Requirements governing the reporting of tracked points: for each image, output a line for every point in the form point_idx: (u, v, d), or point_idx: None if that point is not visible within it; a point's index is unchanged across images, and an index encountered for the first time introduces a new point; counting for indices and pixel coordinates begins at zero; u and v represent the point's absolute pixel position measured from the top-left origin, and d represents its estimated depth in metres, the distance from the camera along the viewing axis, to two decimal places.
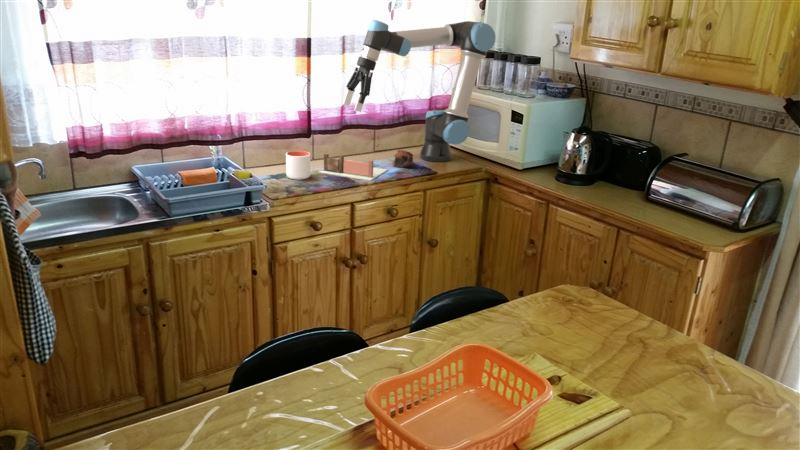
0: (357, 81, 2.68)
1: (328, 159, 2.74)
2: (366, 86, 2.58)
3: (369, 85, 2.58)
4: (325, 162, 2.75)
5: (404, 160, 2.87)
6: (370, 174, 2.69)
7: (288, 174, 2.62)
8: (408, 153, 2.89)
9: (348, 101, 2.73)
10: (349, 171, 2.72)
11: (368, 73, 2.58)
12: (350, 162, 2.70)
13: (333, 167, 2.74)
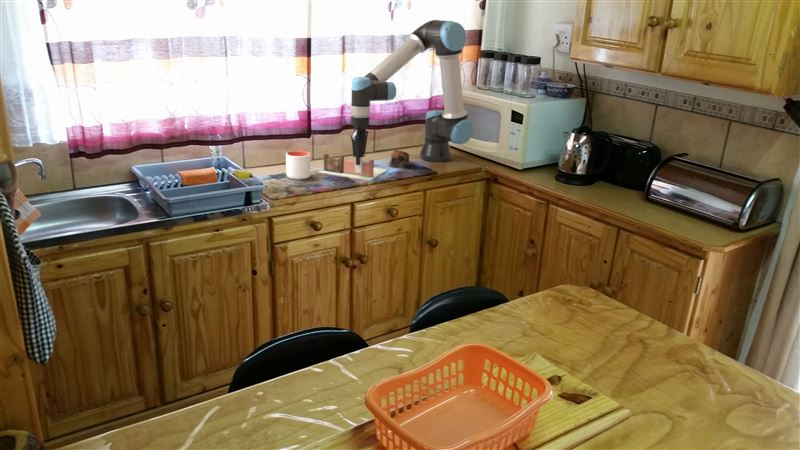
0: None
1: (328, 159, 2.74)
2: (353, 149, 2.62)
3: (356, 148, 2.61)
4: (325, 162, 2.75)
5: (400, 160, 2.87)
6: (371, 174, 2.69)
7: (288, 174, 2.62)
8: (404, 153, 2.89)
9: None
10: (349, 171, 2.72)
11: (352, 138, 2.59)
12: (350, 162, 2.71)
13: (333, 167, 2.74)
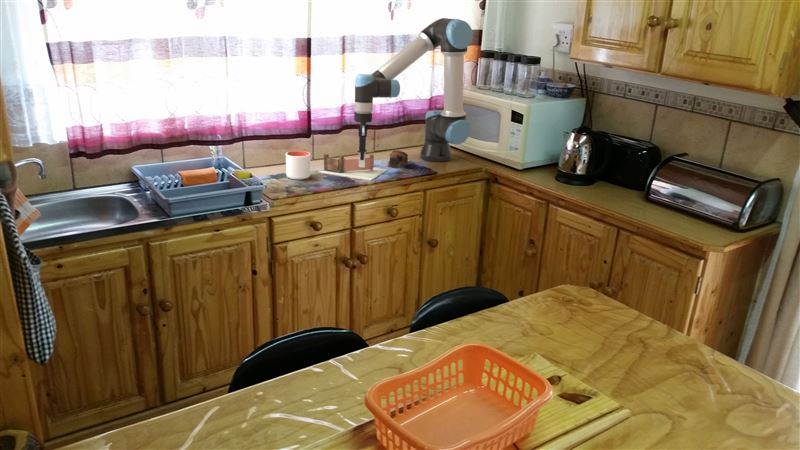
0: None
1: (328, 159, 2.74)
2: (361, 145, 2.68)
3: (364, 143, 2.68)
4: (325, 162, 2.75)
5: (399, 160, 2.87)
6: (372, 168, 2.79)
7: (288, 174, 2.62)
8: (403, 153, 2.88)
9: None
10: (350, 169, 2.75)
11: (361, 133, 2.65)
12: (352, 160, 2.74)
13: (333, 167, 2.74)
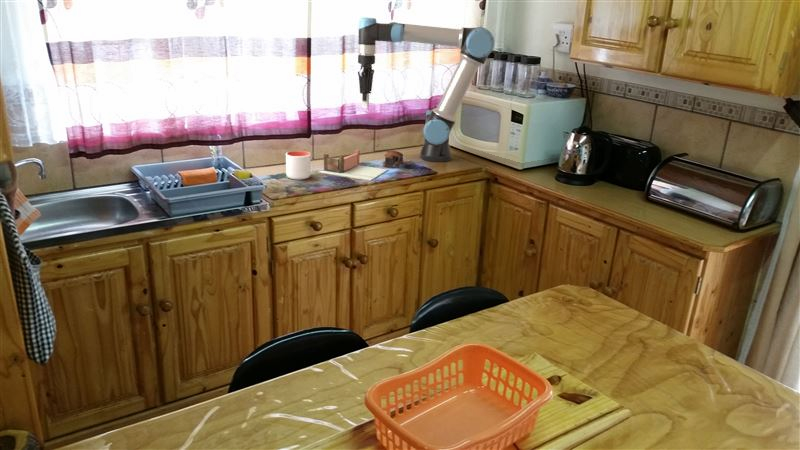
0: None
1: (328, 159, 2.74)
2: (360, 86, 2.82)
3: (363, 84, 2.81)
4: (325, 162, 2.75)
5: (394, 160, 2.86)
6: (358, 163, 2.85)
7: (288, 174, 2.62)
8: (398, 153, 2.88)
9: None
10: (347, 168, 2.77)
11: (359, 74, 2.79)
12: (348, 158, 2.76)
13: (333, 167, 2.74)
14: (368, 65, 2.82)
